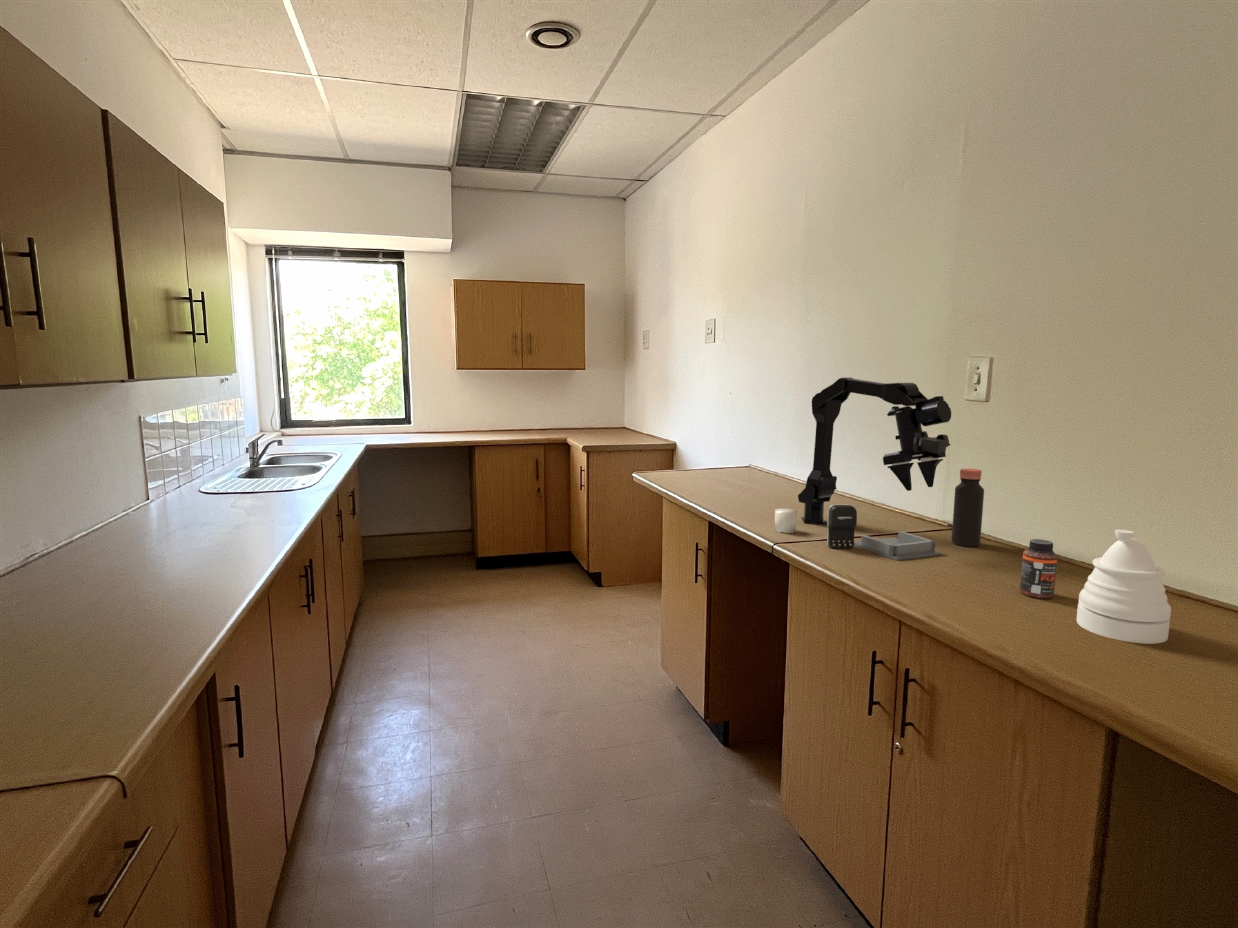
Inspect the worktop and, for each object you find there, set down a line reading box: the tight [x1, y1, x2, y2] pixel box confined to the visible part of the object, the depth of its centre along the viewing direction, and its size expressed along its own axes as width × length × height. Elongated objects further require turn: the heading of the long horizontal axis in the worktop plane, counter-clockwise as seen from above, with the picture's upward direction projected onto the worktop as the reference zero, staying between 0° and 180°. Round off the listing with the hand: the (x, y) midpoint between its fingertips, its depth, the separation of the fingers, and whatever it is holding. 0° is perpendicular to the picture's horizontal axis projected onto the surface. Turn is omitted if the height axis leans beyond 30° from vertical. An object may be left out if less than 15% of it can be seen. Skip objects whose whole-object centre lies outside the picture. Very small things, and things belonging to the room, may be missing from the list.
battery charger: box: [826, 503, 858, 550], centre depth 166 cm, size 7×4×11 cm, turn 88°
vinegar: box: [951, 468, 985, 548], centre depth 169 cm, size 7×7×20 cm
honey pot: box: [1076, 529, 1172, 645], centre depth 112 cm, size 13×13×18 cm
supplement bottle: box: [1019, 538, 1058, 600], centre depth 130 cm, size 6×6×11 cm
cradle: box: [854, 530, 942, 562], centre depth 165 cm, size 16×14×3 cm
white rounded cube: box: [774, 508, 797, 534], centre depth 185 cm, size 6×6×6 cm
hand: (920, 488), depth 165 cm, fingers open, 9 cm apart
